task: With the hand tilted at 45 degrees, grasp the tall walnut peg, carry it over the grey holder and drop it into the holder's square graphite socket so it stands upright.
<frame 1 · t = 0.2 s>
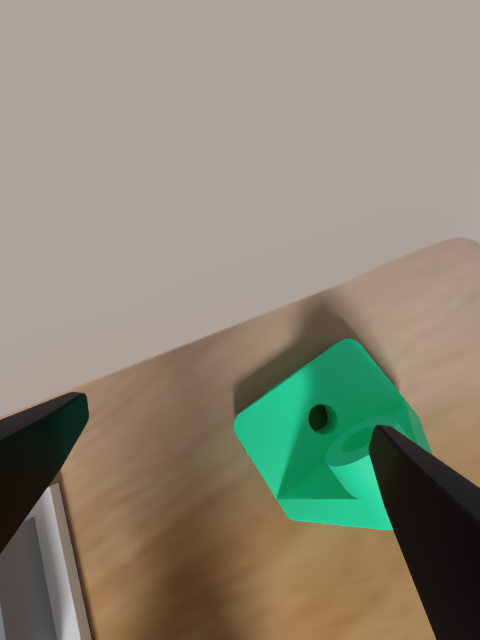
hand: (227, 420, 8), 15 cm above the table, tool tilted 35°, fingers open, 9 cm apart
camera mount: (313, 415, 23), on the table
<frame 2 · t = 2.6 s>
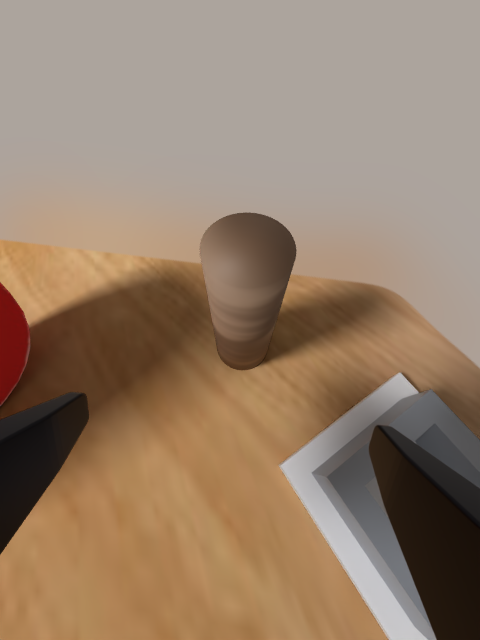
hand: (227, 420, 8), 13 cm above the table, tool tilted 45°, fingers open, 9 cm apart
walnut peg: (242, 345, 23), on the table
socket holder: (398, 493, 19), on the table
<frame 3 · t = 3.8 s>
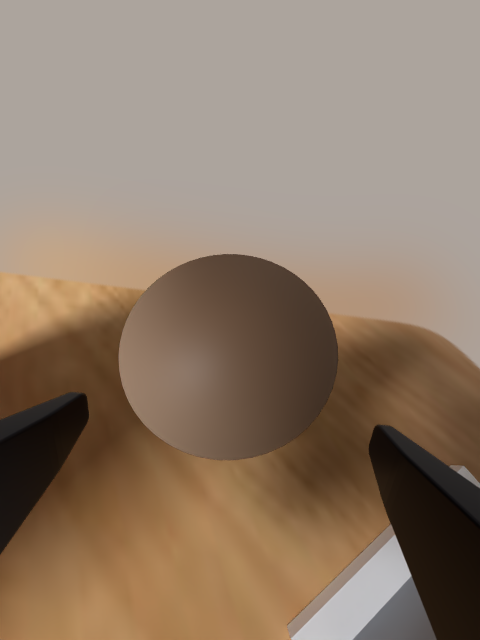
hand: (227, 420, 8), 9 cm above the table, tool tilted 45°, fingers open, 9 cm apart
walnut peg: (233, 417, 17), on the table
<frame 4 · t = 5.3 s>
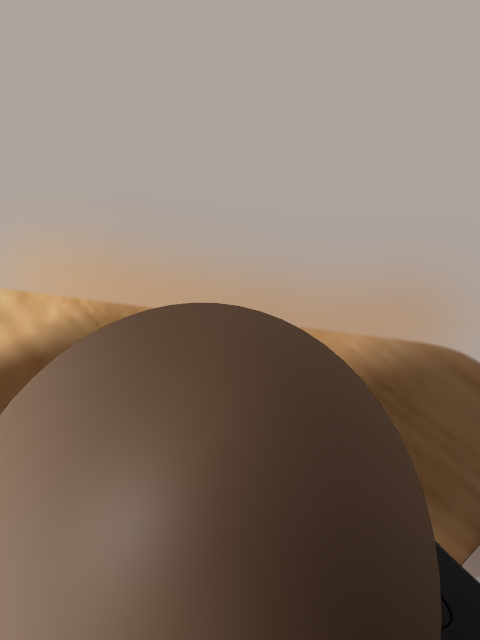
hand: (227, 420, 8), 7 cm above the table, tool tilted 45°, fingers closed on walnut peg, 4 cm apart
walnut peg: (228, 463, 14), on the table, touching gripper
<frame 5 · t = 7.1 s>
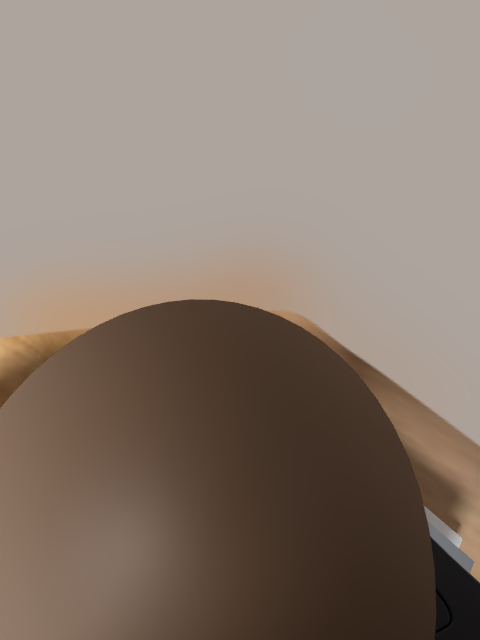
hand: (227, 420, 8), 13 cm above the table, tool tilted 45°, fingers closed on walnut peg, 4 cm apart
walnut peg: (227, 462, 14), point 7 cm above the table, touching gripper
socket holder: (326, 542, 18), on the table
when the fingers open (9 cm above the table, at t = 9.1 s): walnut peg drops 1 cm, resting on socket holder.
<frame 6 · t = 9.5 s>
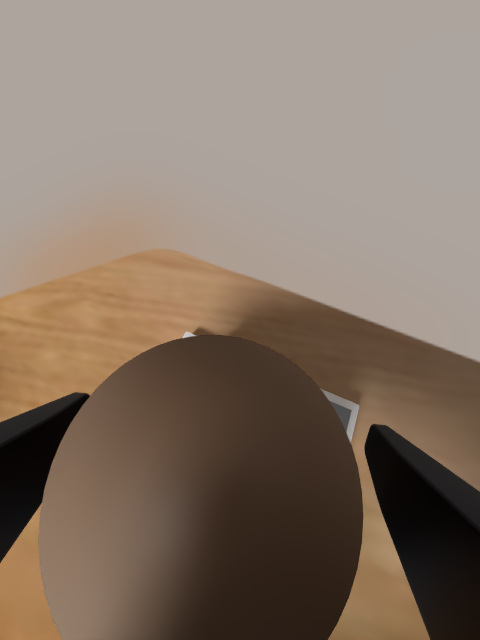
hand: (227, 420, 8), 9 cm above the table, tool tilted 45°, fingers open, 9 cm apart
walnut peg: (227, 462, 15), point 1 cm above the table, touching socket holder
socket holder: (229, 461, 16), on the table
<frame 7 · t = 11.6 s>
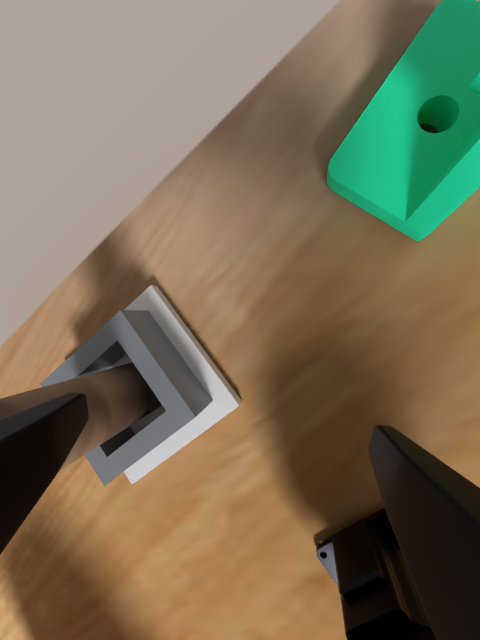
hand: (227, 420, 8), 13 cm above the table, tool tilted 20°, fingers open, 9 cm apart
walnut peg: (141, 387, 22), point 1 cm above the table, touching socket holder
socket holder: (147, 383, 23), on the table
camera mount: (418, 143, 19), on the table
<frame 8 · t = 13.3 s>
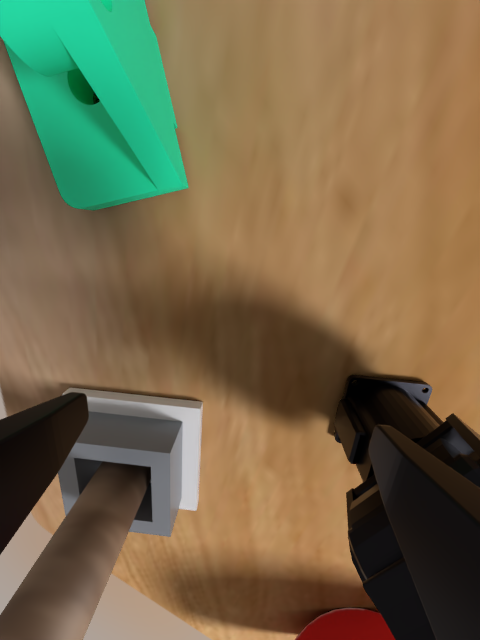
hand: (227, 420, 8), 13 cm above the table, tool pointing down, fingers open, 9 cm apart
walnut peg: (134, 456, 25), point 1 cm above the table, touching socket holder
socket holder: (138, 448, 26), on the table
toy clock: (349, 620, 33), on the table
camera mount: (113, 103, 17), on the table
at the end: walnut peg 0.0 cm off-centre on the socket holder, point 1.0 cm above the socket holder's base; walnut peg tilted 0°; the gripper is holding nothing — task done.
